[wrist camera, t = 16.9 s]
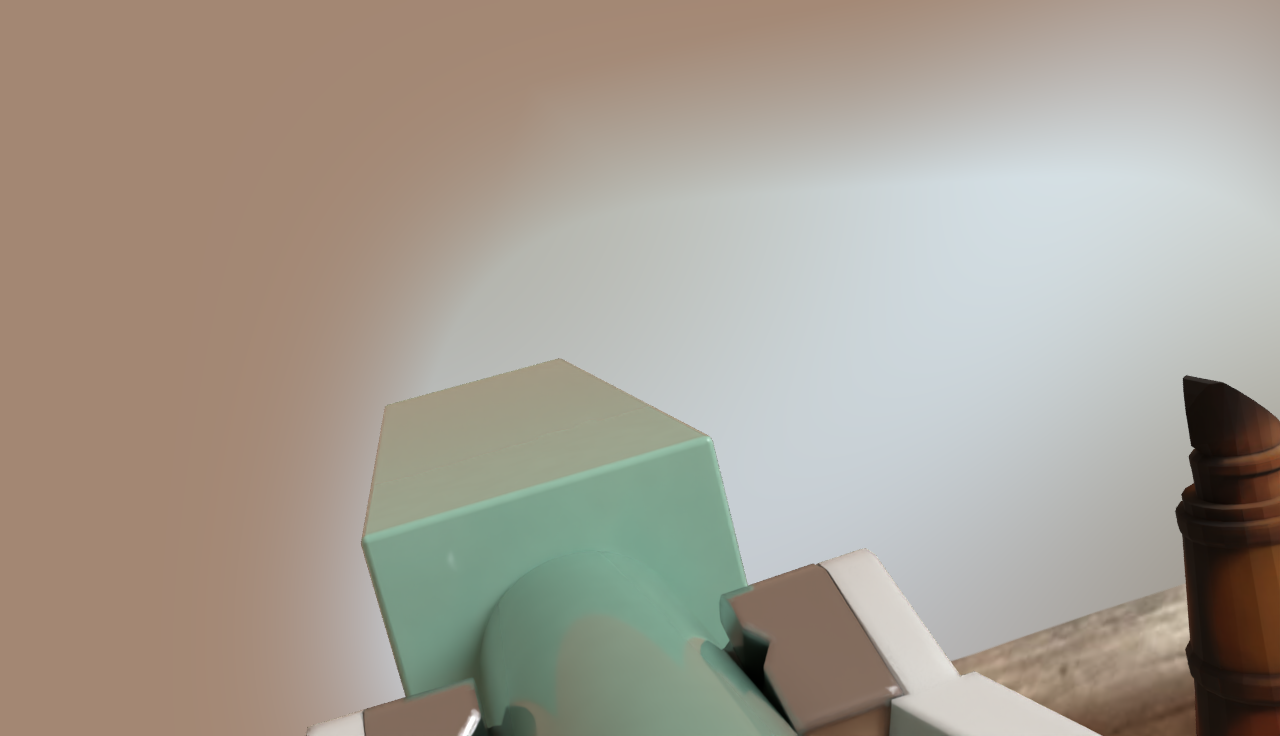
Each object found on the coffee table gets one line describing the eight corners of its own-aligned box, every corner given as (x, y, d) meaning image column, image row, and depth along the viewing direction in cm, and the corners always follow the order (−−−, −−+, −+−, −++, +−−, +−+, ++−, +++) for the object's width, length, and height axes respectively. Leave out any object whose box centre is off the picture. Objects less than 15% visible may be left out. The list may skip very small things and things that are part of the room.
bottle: (494, 1307, 7) (319, 738, 6) (433, 578, 23) (383, 405, 23) (1039, 1068, 8) (924, 542, 7) (606, 526, 24) (562, 357, 24)
